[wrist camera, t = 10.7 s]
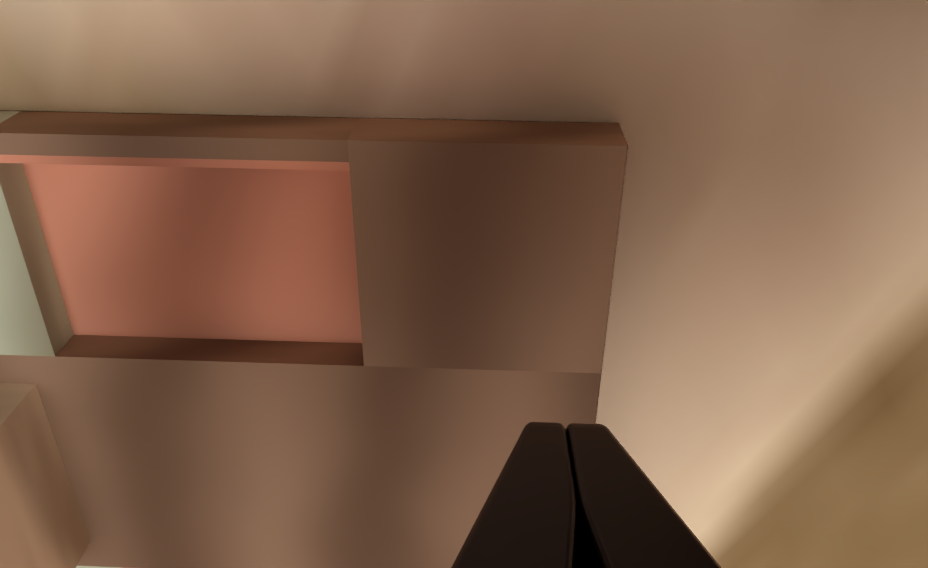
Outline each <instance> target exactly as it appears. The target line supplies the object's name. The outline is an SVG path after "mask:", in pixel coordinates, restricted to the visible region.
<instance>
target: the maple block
mask: <svg viewBox="0 0 928 568" xmlns="http://www.w3.org/2000/svg"><path fill="white" fill-rule="evenodd" d="M89 544H90V539H89V537H88V534H87V531H86V528H85V525H84V522H83V519H82V516H81V513H80V511H79V508H78V505H77V502H76V499H75V496H74V493H73V490H72V488H71V485H70V482H69V479H68V476H67V473H66V470H65V467H64V464H63V462H62V459H61V456H60V453H59V450H58V447H57V444H56V441H55V439H54V436H53V433H52V430H51V427H50V424H49V421H48V418H47V415H46V413H45V410H44V407H43V404H42V401H41V398H40V395H39V392H38V390H37V387H36V384H22V383H0V568H76V566H77V565H78V563H79V561H80V559H81V558H82V556H83V554H84V552H85V551H86V549H87V547H88V545H89Z"/></svg>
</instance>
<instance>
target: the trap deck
mask: <svg viewBox="0 0 928 568" xmlns="http://www.w3.org/2000/svg"><path fill="white" fill-rule="evenodd" d="M627 150H628V145H627V142H626V140H625V137H624V135H623V132H622V130H621V127H620V124H619V123H592V122H541V121H491V120H440V119H389V118H339V117H288V116H237V115H186V114H136V113H85V112H34V111H0V383H22V384H36V387H37V390H38V392H39V395H40V398H41V401H42V404H43V407H44V410H45V413H46V415H47V418H48V421H49V424H50V427H51V430H52V433H53V436H54V439H55V441H56V444H57V447H58V450H59V453H60V456H61V459H62V462H63V464H64V467H65V470H66V473H67V476H68V479H69V482H70V485H71V488H72V490H73V493H74V496H75V499H76V502H77V505H78V508H79V511H80V513H81V516H82V519H83V522H84V525H85V528H86V531H87V534H88V537H89V539H90V544H89V545H88V547H87V549H86V551H85V552H84V554H83V556H82V558H81V559H80V561H79V563H78V565H77V566H76V568H451V567H452V565H453V563H454V561H455V559H456V557H457V555H458V553H459V552H460V550H461V548H462V546H463V544H464V542H465V540H466V538H467V536H468V534H469V532H470V530H471V528H472V527H473V525H474V523H475V521H476V519H477V517H478V515H479V513H480V511H481V509H482V507H483V505H484V504H485V502H486V500H487V498H488V496H489V494H490V492H491V490H492V488H493V486H494V484H495V482H496V480H497V479H498V477H499V475H500V473H501V471H502V469H503V467H504V465H505V463H506V461H507V459H508V457H509V456H510V454H511V452H512V450H513V448H514V446H515V444H516V442H517V440H518V438H519V436H520V434H521V433H522V431H523V429H524V427H525V426H526V425H527V424H528V423H530V422H552V423H561V424H563V425H564V427H565V428H567V426H568V425H569V424H571V423H582V424H595V422H596V414H597V405H598V397H599V388H600V380H601V371H602V363H603V354H604V346H605V337H606V329H607V320H608V312H609V303H610V295H611V286H612V278H613V269H614V260H615V252H616V243H617V235H618V226H619V218H620V209H621V201H622V192H623V184H624V175H625V167H626V158H627Z"/></svg>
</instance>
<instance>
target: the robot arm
mask: <svg viewBox="0 0 928 568" xmlns="http://www.w3.org/2000/svg"><path fill="white" fill-rule="evenodd" d="M451 568H721V567H720V566H719V564H718V563H717V562H716V561H715V559H714V558H713V557H712V556H711V555H710V553H709V552H708V551H707V550H706V548H705V547H704V546H703V545H702V543H701V542H700V541H699V540H698V539H697V537H696V536H695V535H694V534H693V532H692V531H691V530H690V529H689V528H688V526H687V525H686V524H685V523H684V521H683V520H682V519H681V518H680V516H679V515H678V514H677V513H676V512H675V510H674V509H673V508H672V507H671V505H670V504H669V503H668V502H667V500H666V499H665V498H664V497H663V496H662V494H661V493H660V492H659V491H658V489H657V488H656V487H655V486H654V484H653V483H652V482H651V481H650V480H649V478H648V477H647V476H646V475H645V473H644V472H643V471H642V470H641V469H640V467H639V466H638V465H637V464H636V462H635V461H634V460H633V459H632V457H631V456H630V455H629V454H628V453H627V451H626V450H625V449H624V448H623V446H622V445H621V444H620V443H619V441H618V440H617V439H616V438H615V437H614V435H613V434H612V433H611V432H610V430H609V429H608V428H607V427H605V426H604V425H601V424H582V423H571V424H569V425H568V426H567V428H565V427H564V425H563V424H561V423H552V422H530V423H528V424H527V425H526V426H525V427H524V429H523V431H522V433H521V434H520V436H519V438H518V440H517V442H516V444H515V446H514V448H513V450H512V452H511V454H510V456H509V457H508V459H507V461H506V463H505V465H504V467H503V469H502V471H501V473H500V475H499V477H498V479H497V480H496V482H495V484H494V486H493V488H492V490H491V492H490V494H489V496H488V498H487V500H486V502H485V504H484V505H483V507H482V509H481V511H480V513H479V515H478V517H477V519H476V521H475V523H474V525H473V527H472V528H471V530H470V532H469V534H468V536H467V538H466V540H465V542H464V544H463V546H462V548H461V550H460V552H459V553H458V555H457V557H456V559H455V561H454V563H453V565H452V567H451Z"/></svg>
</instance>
